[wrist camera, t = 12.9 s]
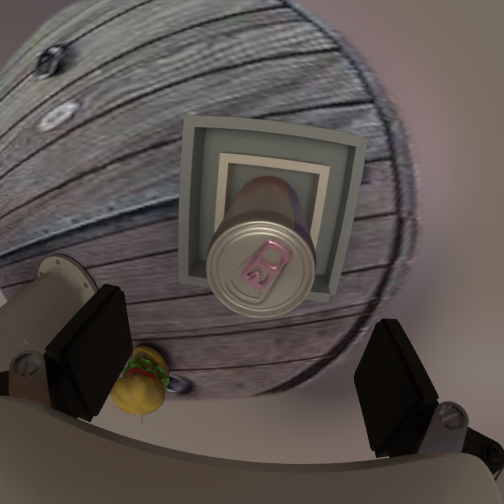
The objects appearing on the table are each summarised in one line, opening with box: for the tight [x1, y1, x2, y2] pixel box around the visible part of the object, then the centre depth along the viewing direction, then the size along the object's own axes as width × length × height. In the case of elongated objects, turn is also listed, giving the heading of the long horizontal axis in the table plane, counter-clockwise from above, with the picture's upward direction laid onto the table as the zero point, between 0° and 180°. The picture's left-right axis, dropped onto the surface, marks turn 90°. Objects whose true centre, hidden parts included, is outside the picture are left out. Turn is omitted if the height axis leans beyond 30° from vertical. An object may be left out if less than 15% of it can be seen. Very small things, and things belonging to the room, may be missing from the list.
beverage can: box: [206, 176, 317, 318], centre depth 21 cm, size 6×6×15 cm
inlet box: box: [178, 115, 368, 302], centre depth 27 cm, size 16×16×5 cm
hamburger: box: [110, 346, 169, 424], centre depth 34 cm, size 8×7×12 cm
